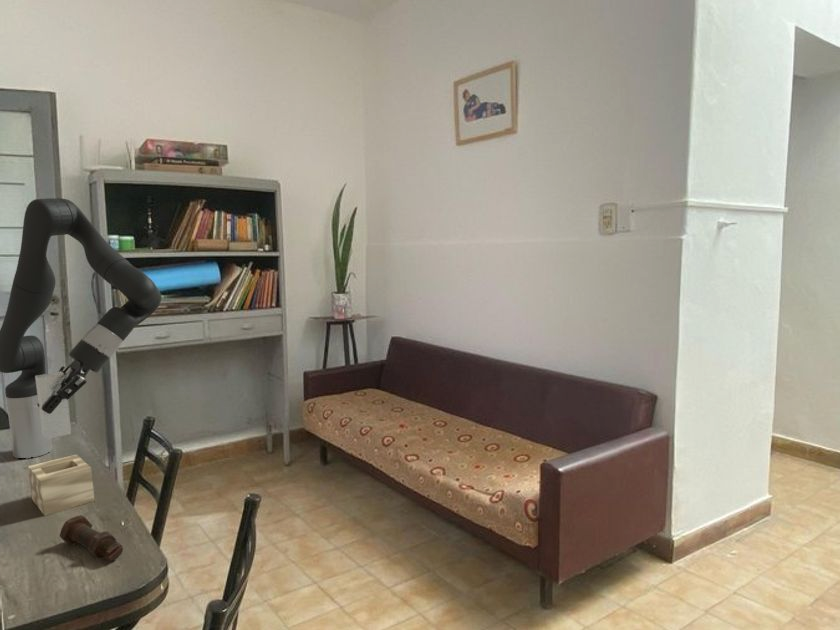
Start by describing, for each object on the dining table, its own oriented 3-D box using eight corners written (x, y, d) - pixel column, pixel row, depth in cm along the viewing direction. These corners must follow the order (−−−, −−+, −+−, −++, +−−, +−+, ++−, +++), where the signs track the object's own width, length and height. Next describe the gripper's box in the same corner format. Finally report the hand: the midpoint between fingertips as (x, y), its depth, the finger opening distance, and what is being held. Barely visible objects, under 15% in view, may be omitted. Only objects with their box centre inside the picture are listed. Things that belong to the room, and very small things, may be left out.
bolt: (113, 573, 111) (71, 548, 119) (134, 550, 114) (92, 527, 122) (95, 555, 108) (53, 531, 116) (118, 531, 111) (76, 510, 119)
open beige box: (32, 499, 139) (28, 466, 138) (79, 485, 146) (76, 454, 145) (44, 515, 130) (40, 481, 129) (94, 500, 137) (91, 467, 136)
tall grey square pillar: (42, 435, 135) (35, 375, 134) (67, 430, 139) (60, 371, 137) (46, 439, 133) (38, 378, 131) (71, 433, 136) (64, 373, 134)
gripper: (74, 335, 143) (20, 395, 136) (92, 341, 133) (35, 407, 126) (100, 353, 147) (50, 412, 141) (119, 361, 137) (66, 425, 131)
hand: (43, 409), depth 134 cm, fingers closed on tall grey square pillar, 3 cm apart
